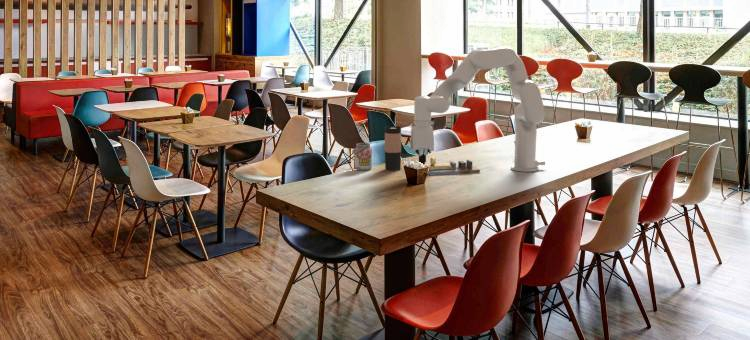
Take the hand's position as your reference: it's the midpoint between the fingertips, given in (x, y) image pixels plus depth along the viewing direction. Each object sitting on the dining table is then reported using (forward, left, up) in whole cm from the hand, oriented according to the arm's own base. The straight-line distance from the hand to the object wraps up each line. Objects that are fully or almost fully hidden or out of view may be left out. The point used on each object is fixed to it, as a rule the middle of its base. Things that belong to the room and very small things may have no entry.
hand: (422, 163), depth 311 cm
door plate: (-9, 0, -4) cm, 10 cm away
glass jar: (+25, -16, -5) cm, 30 cm away
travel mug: (+11, -12, -5) cm, 17 cm away
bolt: (-9, 0, -3) cm, 9 cm away
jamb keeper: (-21, 0, -4) cm, 22 cm away
